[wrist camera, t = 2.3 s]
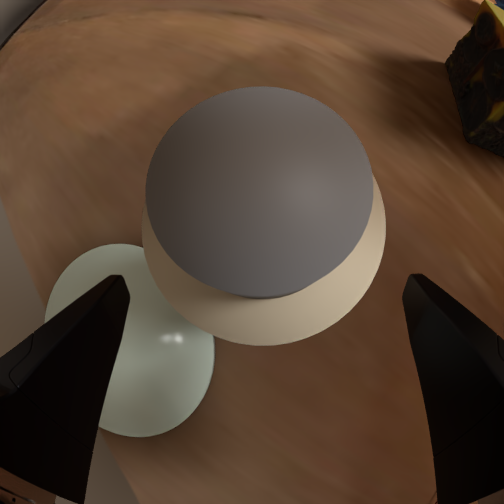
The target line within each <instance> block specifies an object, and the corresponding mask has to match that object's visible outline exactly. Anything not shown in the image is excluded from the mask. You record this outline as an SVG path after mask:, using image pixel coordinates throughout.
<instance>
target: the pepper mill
mask: <svg viewBox="0 0 504 504" xmlns="http://www.w3.org/2000/svg"><path fill="white" fill-rule="evenodd" d="M385 233H386V220H385V211H384V205H383V201H382V197H381V193H380V190H379V188H378V185H377V183H376V180H375V178H374V176H373V174H372V170H371V166H370V163H369V159H368V156H367V154H366V152H365V150H364V147H363V145H362V143H361V142H360V140H359V138H358V137H357V135H356V134H355V132H354V131H353V130H352V129H351V127H350V126H349V125H348V124H347V123H346V122H345V121H344V120H343V119H342V118H341V117H340V116H339V115H338V114H337V113H336V112H334V111H333V110H332V109H330V108H329V107H328V106H326V105H324V104H323V103H321V102H319V101H317V100H316V99H314V98H311V97H309V96H307V95H304V94H302V93H298V92H295V91H292V90H287V89H282V88H276V87H247V88H240V89H235V90H231V91H227V92H224V93H221V94H218V95H216V96H213V97H211V98H209V99H207V100H205V101H203V102H201V103H199V104H198V105H196V106H194V107H193V108H191V109H190V110H189V111H187V112H186V113H185V114H184V115H183V116H181V117H180V118H179V119H178V120H177V121H176V122H175V123H174V124H173V125H172V126H171V127H170V129H169V130H168V131H167V133H166V134H165V135H164V137H163V138H162V140H161V141H160V143H159V145H158V147H157V148H156V150H155V153H154V155H153V157H152V160H151V163H150V166H149V170H148V174H147V181H146V200H145V204H144V208H143V215H142V243H143V249H144V254H145V258H146V261H147V264H148V267H149V271H150V273H151V275H152V277H153V279H154V281H155V283H156V285H157V287H158V288H159V290H160V291H161V293H162V294H163V296H164V297H165V299H166V300H167V301H168V302H169V303H170V304H171V305H172V307H173V308H174V309H175V310H176V311H177V312H178V313H179V314H181V315H182V316H183V317H184V318H185V319H186V320H188V321H189V322H190V323H192V324H193V325H195V326H197V327H198V328H200V329H201V330H203V331H205V332H207V333H209V334H212V335H214V336H216V337H218V338H221V339H225V340H228V341H231V342H235V343H240V344H247V345H278V344H286V343H291V342H294V341H298V340H301V339H305V338H308V337H310V336H312V335H314V334H317V333H319V332H321V331H323V330H325V329H326V328H328V327H329V326H331V325H333V324H334V323H336V322H337V321H339V320H340V319H341V318H342V317H343V316H344V315H346V314H347V313H348V312H349V311H350V310H351V309H352V308H353V307H354V306H355V305H356V304H357V302H358V301H359V300H360V299H361V298H362V297H363V295H364V294H365V292H366V291H367V289H368V287H369V286H370V284H371V283H372V281H373V278H374V276H375V274H376V272H377V270H378V267H379V264H380V261H381V258H382V254H383V249H384V243H385Z"/></svg>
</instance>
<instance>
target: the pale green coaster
mask: <svg viewBox="0 0 504 504" xmlns="http://www.w3.org/2000/svg"><path fill="white" fill-rule="evenodd" d="M112 274H115V275H122V276H123V277H124V279H125V282H126V285H127V287H128V290H129V293H130V304H129V308H128V313H127V318H126V322H125V327H124V332H123V337H122V341H121V344H120V348H119V351H118V354H117V358H116V361H115V364H114V368H113V371H112V375H111V379H110V382H109V386H108V390H107V393H106V397H105V401H104V405H103V409H102V413H101V417H100V421H99V427H101V428H103V429H105V430H108V431H110V432H113V433H116V434H120V435H124V436H131V437H149V436H153V435H158V434H161V433H164V432H167V431H169V430H171V429H173V428H174V427H176V426H178V425H179V424H181V423H182V422H183V421H184V420H186V419H187V418H188V417H189V416H190V415H191V413H192V412H193V411H194V410H195V409H196V408H197V406H198V405H199V404H200V402H201V401H202V399H203V397H204V396H205V394H206V392H207V389H208V387H209V385H210V382H211V378H212V375H213V371H214V364H215V339H214V335H212V334H209V333H207V332H205V331H203V330H201V329H200V328H198V327H197V326H195V325H193V324H192V323H190V322H189V321H188V320H186V319H185V318H184V317H183V316H182V315H181V314H179V313H178V312H177V311H176V310H175V309H174V308H173V307H172V305H171V304H170V303H169V302H168V301H167V300H166V299H165V297H164V296H163V294H162V293H161V291H160V290H159V288H158V287H157V285H156V283H155V281H154V279H153V277H152V275H151V273H150V271H149V267H148V264H147V261H146V258H145V254H144V249H143V248H142V247H138V246H135V245H128V244H110V245H105V246H100V247H97V248H95V249H92V250H90V251H88V252H86V253H84V254H82V255H81V256H80V257H78V258H77V259H75V260H74V261H73V262H72V263H71V264H70V265H69V266H68V267H67V268H66V269H65V271H64V272H63V273H62V274H61V276H60V277H59V279H58V280H57V282H56V284H55V286H54V288H53V290H52V292H51V295H50V298H49V301H48V304H47V309H46V314H45V323H46V322H47V321H48V320H50V319H51V318H52V317H54V316H55V315H56V314H58V313H59V312H60V311H61V310H63V309H64V308H65V307H67V306H68V305H69V304H71V303H72V302H73V301H75V300H76V299H77V298H79V297H80V296H81V295H83V294H84V293H86V292H87V291H88V290H90V289H91V288H92V287H94V286H95V285H97V284H98V283H99V282H101V281H102V280H103V279H105V278H106V277H108V276H109V275H112ZM45 323H44V324H45Z"/></svg>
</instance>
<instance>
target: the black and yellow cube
mask: <svg viewBox="0 0 504 504" xmlns="http://www.w3.org/2000/svg"><path fill="white" fill-rule="evenodd" d="M445 65H446V66H447V68H448V69H447V71H448V73H449V75H450V76H449V80H450V82H451V84H452V88H453V93H454V95H455V98H456V103H457V105H458V110H459V112H460V116H461V120H462V124H463V133H464V135H465V138H466V140H467V141H468V142H469V143H471V144H472V143H474V144H476V145H478V146H480V147H481V148H484V149H488V150H490V151H493V152H494V153H495V154H496V155H499V156H502V157H504V10H503V9H501V8H499V7H498V6H496V5H494V4H492V3H491V2H489V1H488V0H484V1H483V2H482V3H481V6H480V9H479V11H478V13H477V15H476V16H475V20H474V24H473V26H472V28H471V30H470V31H469V32H468V33H467V34H466V35H465V36H464V37H463V38H462V39H461V40H459V41H458V42H457V45H456V47H455V50H453V51H452V54H451V55H450V57H448V59H447V61H446V62H445Z"/></svg>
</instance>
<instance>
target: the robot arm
mask: <svg viewBox="0 0 504 504" xmlns="http://www.w3.org/2000/svg"><path fill="white" fill-rule="evenodd" d="M402 300H403V306H404V311H405V316H406V322H407V328H408V334H409V339H410V344H411V348H412V352H413V355H414V359H415V363H416V367H417V372H418V376H419V380H420V385H421V389H422V394H423V399H424V403H425V409H426V414H427V419H428V425H429V431H430V437H431V444H432V451H433V457H434V458H433V460H434V468H435V478H436V489H437V503H438V504H469V503H472V502H474V501H477V500H478V504H504V340H503V339H502V338H501V337H500V336H499V335H497V334H496V333H495V332H494V331H493V330H492V329H491V328H489V327H488V326H487V325H486V324H485V323H484V322H482V321H481V320H480V319H479V318H478V317H476V316H475V315H474V314H473V313H472V312H470V311H469V310H468V309H467V308H465V307H464V306H463V305H462V304H461V303H459V302H458V301H457V300H456V299H454V298H453V297H452V296H450V295H449V294H448V293H447V292H445V291H444V290H443V289H442V288H440V287H439V286H438V285H436V284H435V283H434V282H432V281H431V280H430V279H428V278H427V277H426V276H424V275H423V274H411V275H410V276H409V277H408V280H407V283H406V286H405V289H404V292H403V296H402ZM129 304H130V293H129V290H128V287H127V285H126V282H125V279H124V277H123V276H122V275H115V274H112V275H109V276H108V277H106V278H105V279H103V280H102V281H101V282H99V283H98V284H97V285H95V286H94V287H92V288H91V289H90V290H88V291H87V292H86V293H84V294H83V295H81V296H80V297H79V298H77V299H76V300H75V301H73V302H72V303H71V304H69V305H68V306H67V307H65V308H64V309H63V310H61V311H60V312H59V313H58V314H56V315H55V316H54V317H52V318H51V319H50V320H48V321H47V322H46V323H45V324H43V325H42V326H41V327H40V328H38V329H37V330H36V331H35V332H34V333H32V334H31V335H29V336H28V337H27V338H26V339H25V340H23V341H22V342H21V343H19V344H18V345H17V346H16V347H14V348H13V349H12V350H10V351H9V352H7V353H6V354H5V355H3V356H2V357H1V358H0V504H55V499H56V495H57V496H59V497H62V498H64V499H67V500H69V501H72V502H75V503H78V504H84V500H85V494H86V488H87V482H88V475H89V470H90V465H91V459H92V454H93V452H92V451H93V449H94V444H95V438H96V434H97V430H98V426H99V421H100V417H101V413H102V409H103V405H104V401H105V397H106V393H107V390H108V386H109V382H110V379H111V375H112V371H113V368H114V364H115V361H116V358H117V354H118V351H119V348H120V344H121V341H122V337H123V332H124V327H125V322H126V318H127V313H128V308H129Z"/></svg>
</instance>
